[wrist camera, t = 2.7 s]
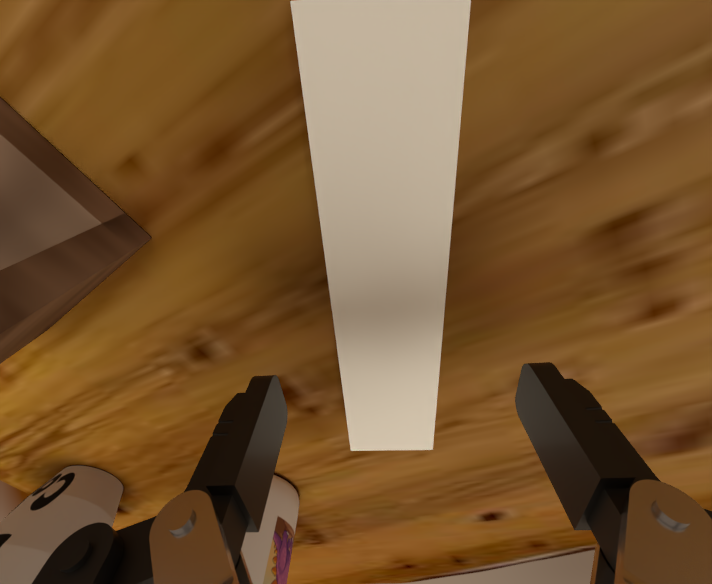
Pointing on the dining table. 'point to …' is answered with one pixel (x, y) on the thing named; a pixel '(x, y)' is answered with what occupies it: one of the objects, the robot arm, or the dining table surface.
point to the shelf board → (385, 196)
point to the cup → (54, 519)
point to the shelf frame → (50, 234)
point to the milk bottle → (273, 536)
